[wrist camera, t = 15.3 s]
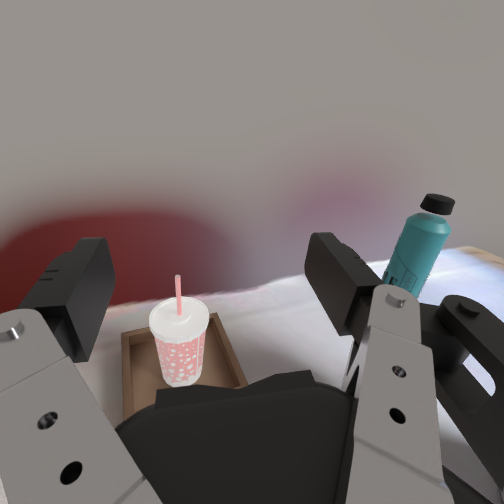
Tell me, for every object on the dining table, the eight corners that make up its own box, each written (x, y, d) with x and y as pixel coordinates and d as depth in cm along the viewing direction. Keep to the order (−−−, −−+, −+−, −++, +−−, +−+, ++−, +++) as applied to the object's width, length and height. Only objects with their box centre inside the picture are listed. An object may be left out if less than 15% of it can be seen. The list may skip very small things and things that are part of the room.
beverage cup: (185, 341, 37) (181, 252, 30) (218, 368, 34) (223, 276, 27) (144, 372, 32) (129, 276, 25) (179, 405, 29) (172, 307, 22)
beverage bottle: (420, 306, 50) (476, 202, 39) (397, 317, 46) (452, 206, 36) (389, 285, 54) (432, 187, 44) (367, 294, 51) (408, 190, 41)
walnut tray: (216, 325, 41) (216, 312, 40) (248, 403, 31) (250, 389, 30) (124, 346, 36) (121, 333, 35) (127, 447, 26) (124, 433, 25)
